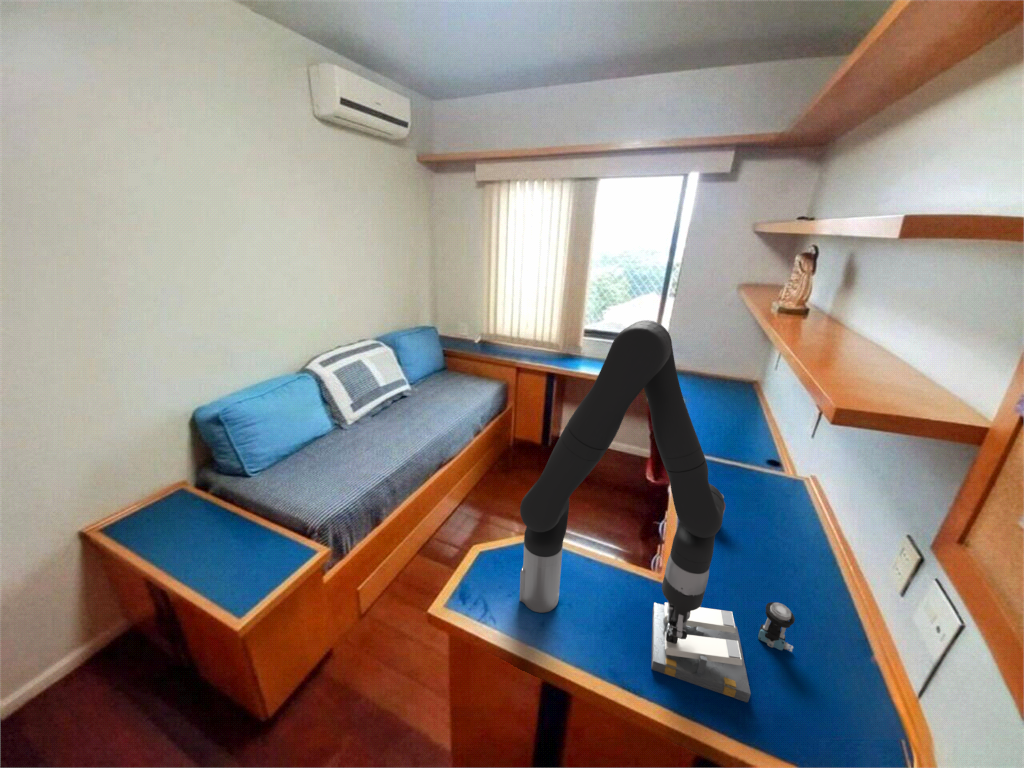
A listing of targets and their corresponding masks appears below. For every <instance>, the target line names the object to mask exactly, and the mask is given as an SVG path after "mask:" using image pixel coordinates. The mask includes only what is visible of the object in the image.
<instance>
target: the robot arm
mask: <svg viewBox="0 0 1024 768" xmlns="http://www.w3.org/2000/svg"><path fill="white" fill-rule="evenodd" d="M673 349H674V348H673V343H672V338H671V334H670V333H669V331H668V329H666V328H665V327H664V325H662V324H661V323H658V322H656V321H655V320H650V319H649V320H648V319H647V320H644V319H643V320H639V321H636V322H634V323H633V324H632V323H631V324H630V325H629V326H627V327H626V328H624V329H623V330H620V332H619V333H618V334H617V335H616V337H615V338H614V339H613V342H612V344H611V346H610V347H609V350H608V352H607V355H606V358H605V360H604V361H603V364H602V367H601V369H600V371H599V373H598V374H597V377H596V379H595V382H594V384H593V385H592V387H591V388H590V390H589V391H588V392H587V394H586V396H584V398H583V399H582V400H581V402H580V403H579V404H578V406H577V408H576V409H575V410H574V412H573V414H572V415H571V417H570V418H569V420H568V421H567V423H566V425H565V427H564V428H563V430H562V431H561V433H560V436H559V438H558V440H557V442H556V444H555V446H554V448H553V450H552V452H551V453H550V456H549V458H548V461H547V462H546V464H545V467H544V469H543V471H542V473H541V475H540V476H539V478H538V480H537V481H536V482H534V484H533V485H532V487H531V488H530V489H529V490H528V491H527V493H526V494H525V495H524V497H523V498H522V500H521V503H520V507H519V508H520V509H519V513H520V518H521V520H522V523H523V524H524V525H525V526H526V527H525V530H524V535H523V536H524V537H523V564H522V566H521V567H522V568H521V569H520V573H519V574H520V576H519V602H521V603H523V604H525V606H526V608H528V609H529V610H531V611H532V612H535V613H543V614H544V613H549V612H551V611H553V610H554V609H555V608H556V606H557V605H558V602H559V598H560V597H559V596H560V584H561V573H562V572H561V571H562V560H563V559H562V558H563V544H564V539H565V536H566V533H567V528H568V521H569V520H568V519H569V511H570V497H571V496H572V494H573V493H574V492H575V490H577V488H578V487H580V485H581V484H582V483H583V481H585V479H586V478H587V477H588V476H589V475H590V473H592V471H593V470H594V468H595V467H596V466H597V464H598V463H599V462H600V460H602V459H603V456H604V455H605V454H606V452H607V451H608V449H609V448H610V446H611V445H612V443H613V442H614V439H615V438H616V436H617V434H618V432H619V429H620V427H621V425H622V422H623V420H624V417H625V415H626V413H627V410H628V409H629V408H630V406H631V405H632V403H634V400H635V399H636V398H637V397H638V396H639V394H640V393H641V392H642V391H643V390H644V394H645V397H646V400H647V404H648V409H649V412H650V419H651V424H652V425H651V426H652V432H653V435H654V440H655V443H656V447H657V450H658V453H659V456H660V458H661V462H662V464H663V467H664V469H665V471H666V474H667V476H668V480H669V484H670V491H671V495H672V500H673V506H674V509H675V513H676V516H677V519H678V526H677V528H676V531H675V534H674V536H673V540H672V543H671V549H670V554H669V556H668V558H667V561H666V566H665V570H664V576H663V579H662V580H663V581H662V584H661V591H662V594H663V596H664V598H665V599H666V600H667V603H668V607H667V613H668V616H667V621H668V625H667V629H666V641H668V642H671V643H674V644H676V643H677V640H678V638H679V639H686V637H687V634H686V632H685V629H682V628H685V627H686V623H687V620H688V619H689V618H690V611H692V610H696V609H698V608H699V607H700V606H701V607H702V603H703V601H704V600H703V599H704V596H705V592H706V588H707V585H708V580H709V575H710V567H711V565H712V560H713V555H714V548H715V537H716V534H717V533H718V532H719V531H720V529H721V527H722V524H723V518H724V514H723V512H724V513H725V510H724V502H725V500H724V499H725V498H724V499H723V497H722V495H723V494H722V493H721V492H720V490H719V489H718V488H717V487H715V485H713V484H711V483H710V482H709V468H708V463H707V459H706V457H705V454H704V452H703V448H702V446H701V443H700V441H699V437H698V435H697V432H696V429H695V427H694V425H693V422H692V419H691V417H690V414H689V411H688V407H687V404H686V402H685V399H684V396H683V393H682V389H681V385H680V381H679V380H680V379H679V378H678V377H679V376H678V373H677V367H676V362H675V361H676V360H675V356H674V350H673ZM721 494H722V495H721Z"/></svg>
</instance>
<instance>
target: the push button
mask: <svg viewBox="0 0 1024 768" xmlns="http://www.w3.org/2000/svg"><path fill="white" fill-rule="evenodd" d="M765 615H766V617H767V619H766V621H765V623H764V624H761V625H760V628H759V630H758V636H757V637H758V638H757V639H758V640H760V641H762V642H763V643H765V644H766V645H767V646H768V647H770V648H775V649H777V650H779V651H783V650H787V651H789V652H791V653H793V649H794V646H793V645H791V644H789V642H786V635H785V632H786V631H787V630H786V629H788V628H791V626H792V625H793V624H795V622H796V621H795V620H796V618H795V615H794V613H793V612H792V611H791V610H790V608H789V607H787V606H786V605H785V604H783V603H780V602H775V601H770V602H768V603H766V604H765Z"/></svg>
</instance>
